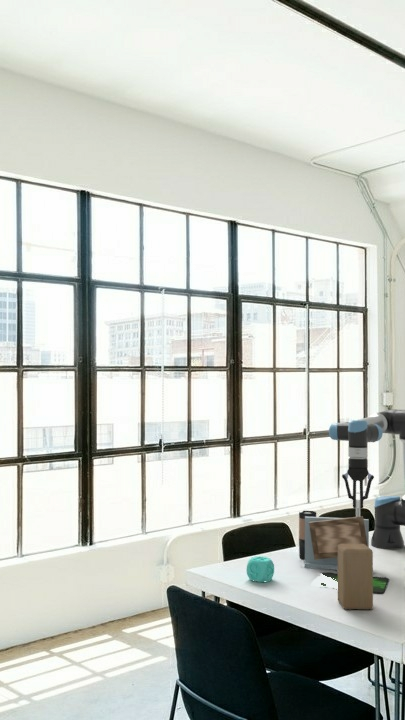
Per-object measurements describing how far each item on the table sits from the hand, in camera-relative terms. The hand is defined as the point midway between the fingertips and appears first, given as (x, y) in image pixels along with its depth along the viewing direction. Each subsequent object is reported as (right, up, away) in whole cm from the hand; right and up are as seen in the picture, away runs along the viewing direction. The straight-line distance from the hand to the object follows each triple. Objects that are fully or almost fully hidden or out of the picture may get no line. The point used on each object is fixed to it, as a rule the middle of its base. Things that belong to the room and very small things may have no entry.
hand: (358, 516), depth 276 cm
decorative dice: (-41, -22, -14) cm, 48 cm away
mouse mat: (-7, -22, -17) cm, 29 cm away
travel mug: (-17, -23, +20) cm, 35 cm away
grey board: (-8, -22, +6) cm, 25 cm away
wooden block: (-11, -20, -45) cm, 51 cm away
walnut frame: (-7, -17, +1) cm, 18 cm away
